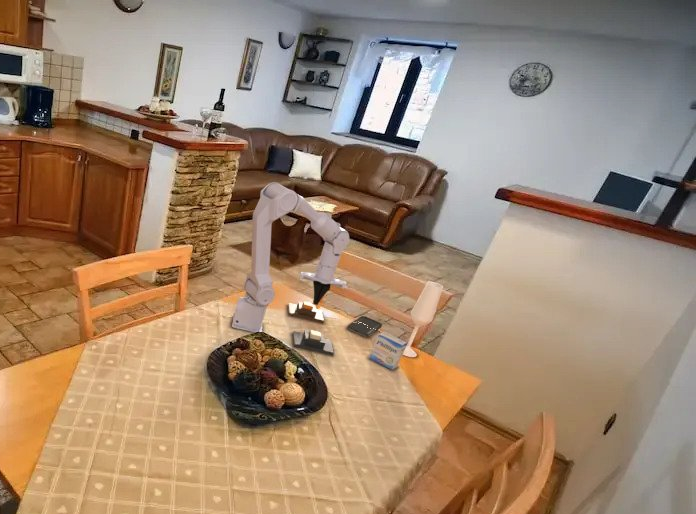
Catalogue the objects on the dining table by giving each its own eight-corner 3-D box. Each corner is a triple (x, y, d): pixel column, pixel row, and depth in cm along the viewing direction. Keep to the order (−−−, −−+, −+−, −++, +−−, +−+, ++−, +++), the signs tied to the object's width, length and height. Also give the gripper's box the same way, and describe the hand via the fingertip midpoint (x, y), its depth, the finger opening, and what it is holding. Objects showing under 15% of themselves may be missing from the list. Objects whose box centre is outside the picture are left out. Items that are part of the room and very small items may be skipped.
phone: (383, 324, 178) (368, 335, 167) (382, 326, 179) (367, 338, 167) (362, 315, 182) (346, 325, 171) (361, 318, 182) (345, 328, 171)
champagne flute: (416, 359, 160) (447, 290, 149) (395, 352, 162) (424, 284, 151) (416, 351, 166) (446, 284, 155) (396, 344, 168) (424, 278, 157)
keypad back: (288, 315, 172) (290, 308, 171) (287, 305, 180) (290, 298, 179) (322, 323, 172) (325, 315, 170) (320, 313, 180) (323, 305, 178)
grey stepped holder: (293, 347, 152) (296, 338, 150) (292, 334, 160) (295, 325, 158) (332, 356, 151) (335, 347, 150) (329, 342, 159) (332, 334, 158)
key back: (302, 308, 173) (304, 304, 173) (302, 305, 176) (303, 301, 176) (311, 310, 173) (313, 306, 173) (311, 307, 176) (312, 303, 175)
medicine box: (368, 358, 154) (377, 334, 150) (374, 354, 157) (384, 330, 153) (392, 370, 150) (402, 345, 146) (397, 366, 153) (408, 342, 149)
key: (309, 338, 153) (311, 334, 152) (309, 334, 156) (310, 329, 155) (320, 341, 153) (321, 336, 152) (319, 336, 156) (320, 332, 155)
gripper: (305, 263, 154) (293, 303, 160) (352, 273, 153) (338, 313, 160) (304, 256, 160) (293, 295, 167) (349, 266, 160) (336, 304, 166)
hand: (315, 303), depth 164 cm, fingers closed
